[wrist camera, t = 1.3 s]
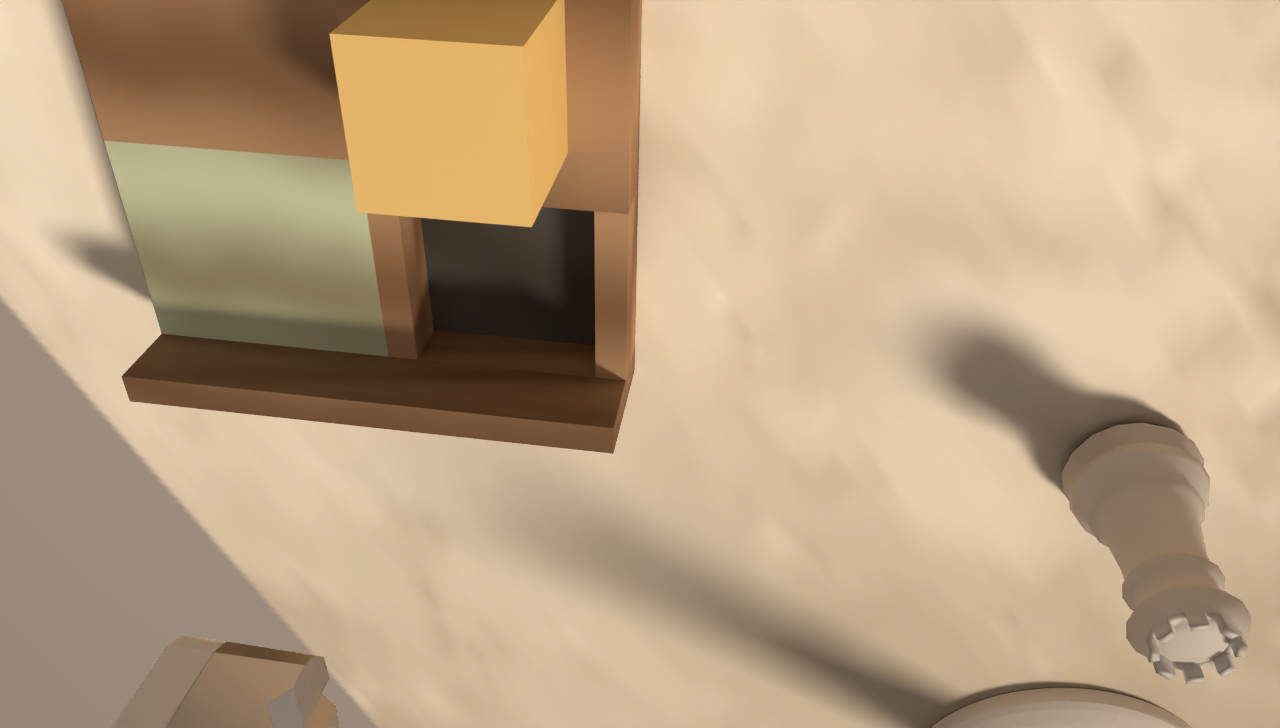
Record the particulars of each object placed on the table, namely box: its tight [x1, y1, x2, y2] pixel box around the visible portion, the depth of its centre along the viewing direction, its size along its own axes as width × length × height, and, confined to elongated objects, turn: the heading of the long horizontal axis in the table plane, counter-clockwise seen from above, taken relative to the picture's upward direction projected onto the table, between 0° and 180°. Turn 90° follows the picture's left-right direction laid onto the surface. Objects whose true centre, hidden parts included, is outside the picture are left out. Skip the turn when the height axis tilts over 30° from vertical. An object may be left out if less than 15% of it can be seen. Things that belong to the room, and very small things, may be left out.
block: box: [329, 0, 568, 227], centre depth 26 cm, size 4×4×4 cm
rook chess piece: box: [1062, 422, 1251, 684], centre depth 32 cm, size 4×4×8 cm
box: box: [62, 0, 642, 453], centre depth 28 cm, size 22×16×4 cm
